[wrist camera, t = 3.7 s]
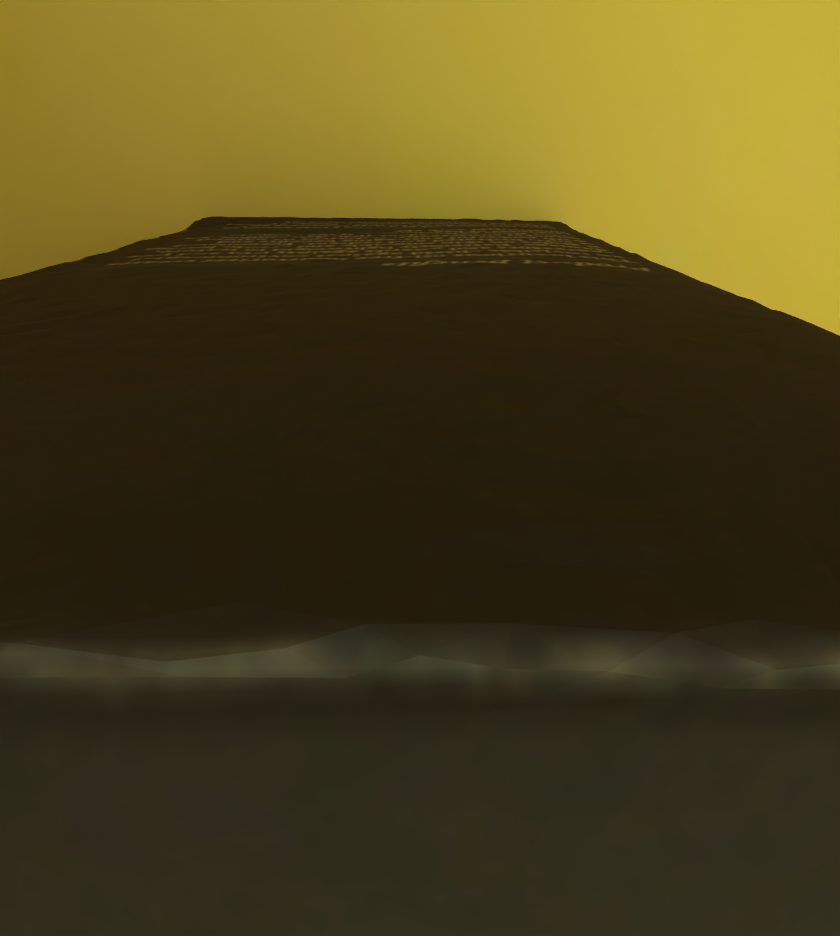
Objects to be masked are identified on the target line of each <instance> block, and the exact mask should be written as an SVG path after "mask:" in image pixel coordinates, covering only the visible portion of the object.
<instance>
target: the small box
mask: <svg viewBox="0 0 840 936" xmlns="http://www.w3.org/2000/svg"><path fill="white" fill-rule="evenodd" d="M0 936H840V336H839V335H836V334H834V333H832V332H829V331H827V330H825V329H823V328H820V327H818V326H816V325H813V324H811V323H809V322H806V321H804V320H801V319H799V318H796V317H794V316H791V315H789V314H786V313H784V312H781V311H776V310H771V309H769V308H767V307H765V306H763V305H761V304H759V303H757V302H755V301H753V300H750V299H747V298H743V297H740V296H737V295H735V294H732V293H730V292H727V291H725V290H722V289H720V288H717V287H714V286H712V285H709V284H707V283H704V282H700V281H698V280H696V279H694V278H691V277H689V276H687V275H685V274H682V273H680V272H678V271H675V270H673V269H670V268H667V267H665V266H662V265H659V264H657V263H654V262H651V261H649V260H647V259H645V258H643V257H642V256H640V255H638V254H636V253H629V252H627V251H625V250H623V249H621V248H620V247H615V246H613V245H610V244H608V243H606V242H604V241H603V240H600V239H596V238H593V237H590V236H588V235H586V234H584V233H580V232H578V231H576V230H573V229H571V228H570V227H569V226H567V225H566V224H563V223H561V222H552V221H520V220H511V221H506V220H480V219H456V220H452V219H378V218H293V217H274V218H268V217H207V218H202V219H201V220H198V221H195V222H194V223H193V224H191V225H190V226H189V227H188V228H187V229H185V230H184V231H181V232H178V233H174V234H170V235H166V236H160V237H158V238H155V239H148V240H142V241H139V242H135V243H133V244H130V245H127V246H124V247H121V248H119V249H117V250H115V251H111V252H108V253H103V254H97V255H93V256H88V257H85V258H83V259H81V260H78V261H73V262H65V263H61V264H57V265H53V266H49V267H46V268H43V269H40V270H36V271H33V272H30V273H26V274H23V275H19V276H16V277H11V278H7V279H2V280H0Z"/></svg>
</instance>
